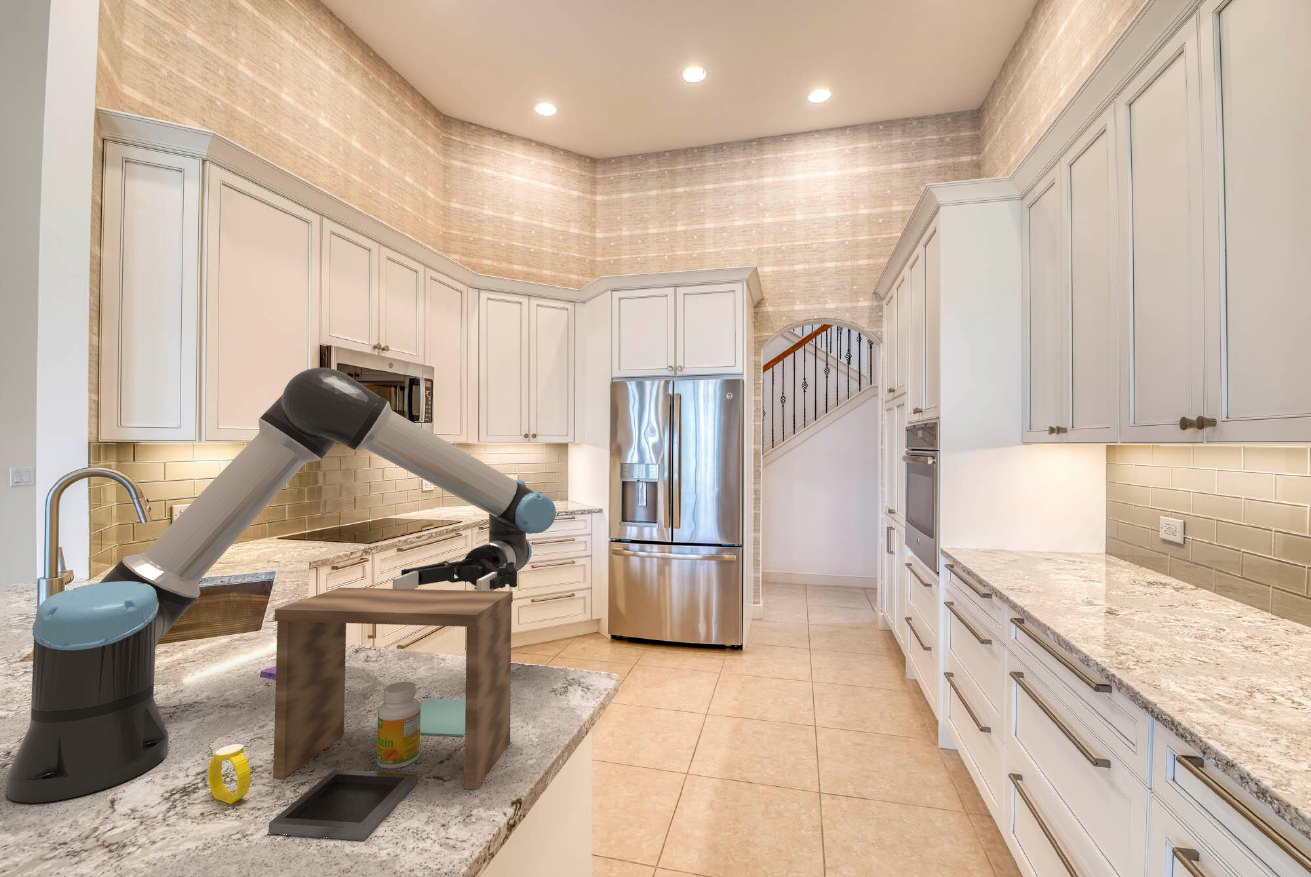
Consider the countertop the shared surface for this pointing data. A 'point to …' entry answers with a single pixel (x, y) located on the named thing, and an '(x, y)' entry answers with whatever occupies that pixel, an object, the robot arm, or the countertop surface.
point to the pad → (442, 717)
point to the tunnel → (319, 624)
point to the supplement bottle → (398, 726)
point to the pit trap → (344, 805)
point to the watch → (241, 771)
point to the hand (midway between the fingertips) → (436, 588)
